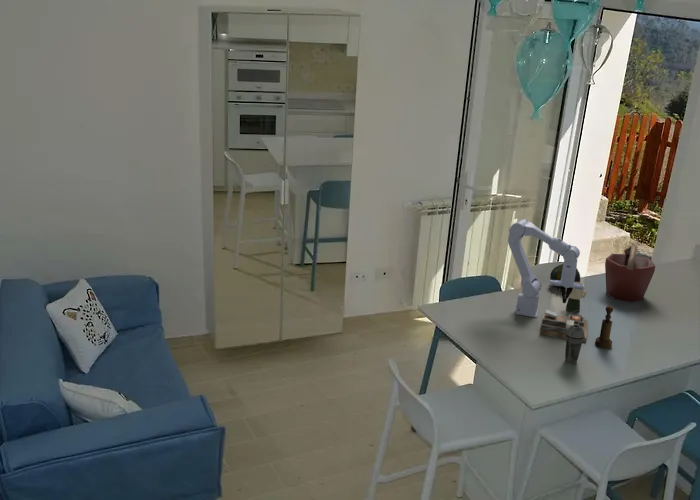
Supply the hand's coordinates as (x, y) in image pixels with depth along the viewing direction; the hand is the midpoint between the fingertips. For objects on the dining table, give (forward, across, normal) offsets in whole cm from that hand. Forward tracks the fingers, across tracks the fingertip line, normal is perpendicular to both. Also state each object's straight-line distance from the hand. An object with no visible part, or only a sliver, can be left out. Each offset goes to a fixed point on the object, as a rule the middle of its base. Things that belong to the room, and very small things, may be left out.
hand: (564, 302), depth 309 cm
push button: (+7, +6, -2) cm, 10 cm away
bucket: (+10, +27, +48) cm, 56 cm away
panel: (+9, +2, -8) cm, 12 cm away
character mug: (+10, +4, +16) cm, 19 cm away
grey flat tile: (+6, -5, -2) cm, 8 cm away
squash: (+10, -2, +44) cm, 45 cm away
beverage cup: (+10, +7, -39) cm, 41 cm away
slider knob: (+7, +4, -13) cm, 16 cm away
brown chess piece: (+10, +18, -18) cm, 27 cm away
